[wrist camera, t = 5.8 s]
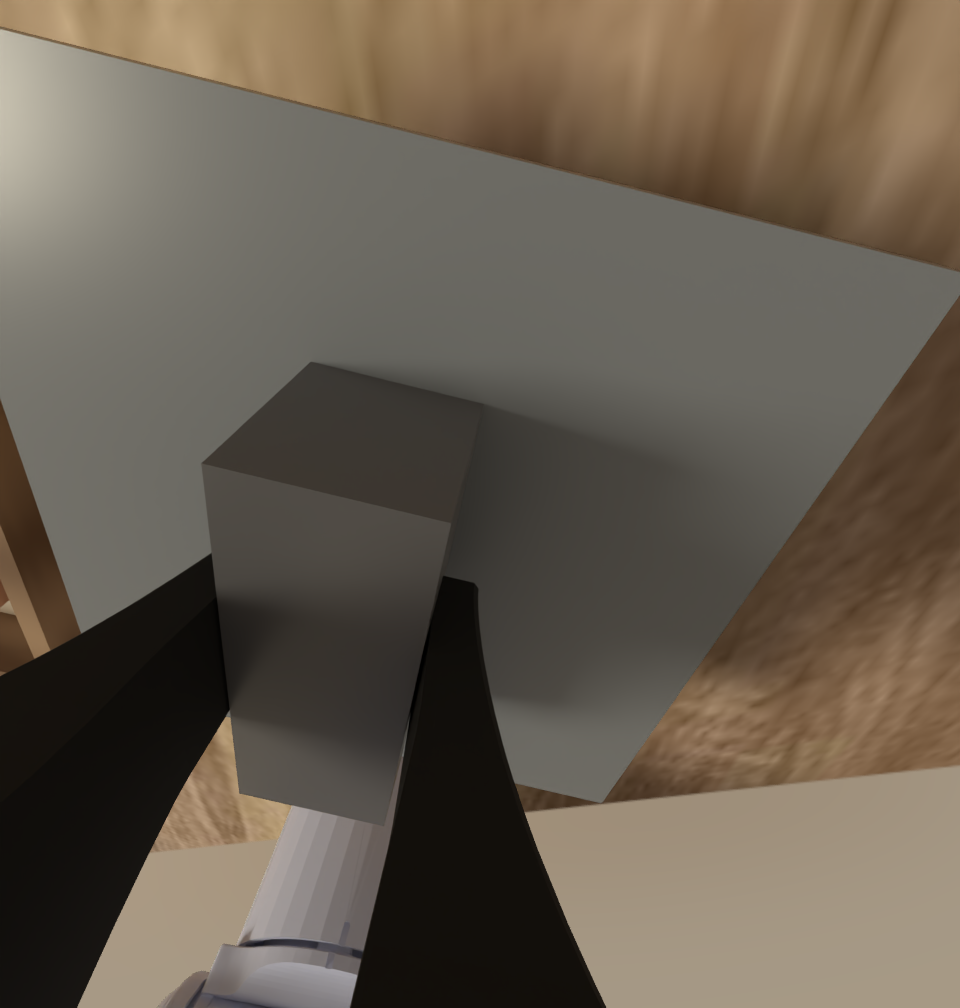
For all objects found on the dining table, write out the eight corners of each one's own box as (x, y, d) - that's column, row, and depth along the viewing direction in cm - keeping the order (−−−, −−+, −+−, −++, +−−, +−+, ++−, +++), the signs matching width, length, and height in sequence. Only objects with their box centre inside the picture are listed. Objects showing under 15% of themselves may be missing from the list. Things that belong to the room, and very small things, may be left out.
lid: (600, 783, 16) (610, 945, 13) (113, 670, 16) (0, 807, 13) (947, 266, 8) (1233, 365, 4) (-94, 2, 7) (-606, -98, 4)
